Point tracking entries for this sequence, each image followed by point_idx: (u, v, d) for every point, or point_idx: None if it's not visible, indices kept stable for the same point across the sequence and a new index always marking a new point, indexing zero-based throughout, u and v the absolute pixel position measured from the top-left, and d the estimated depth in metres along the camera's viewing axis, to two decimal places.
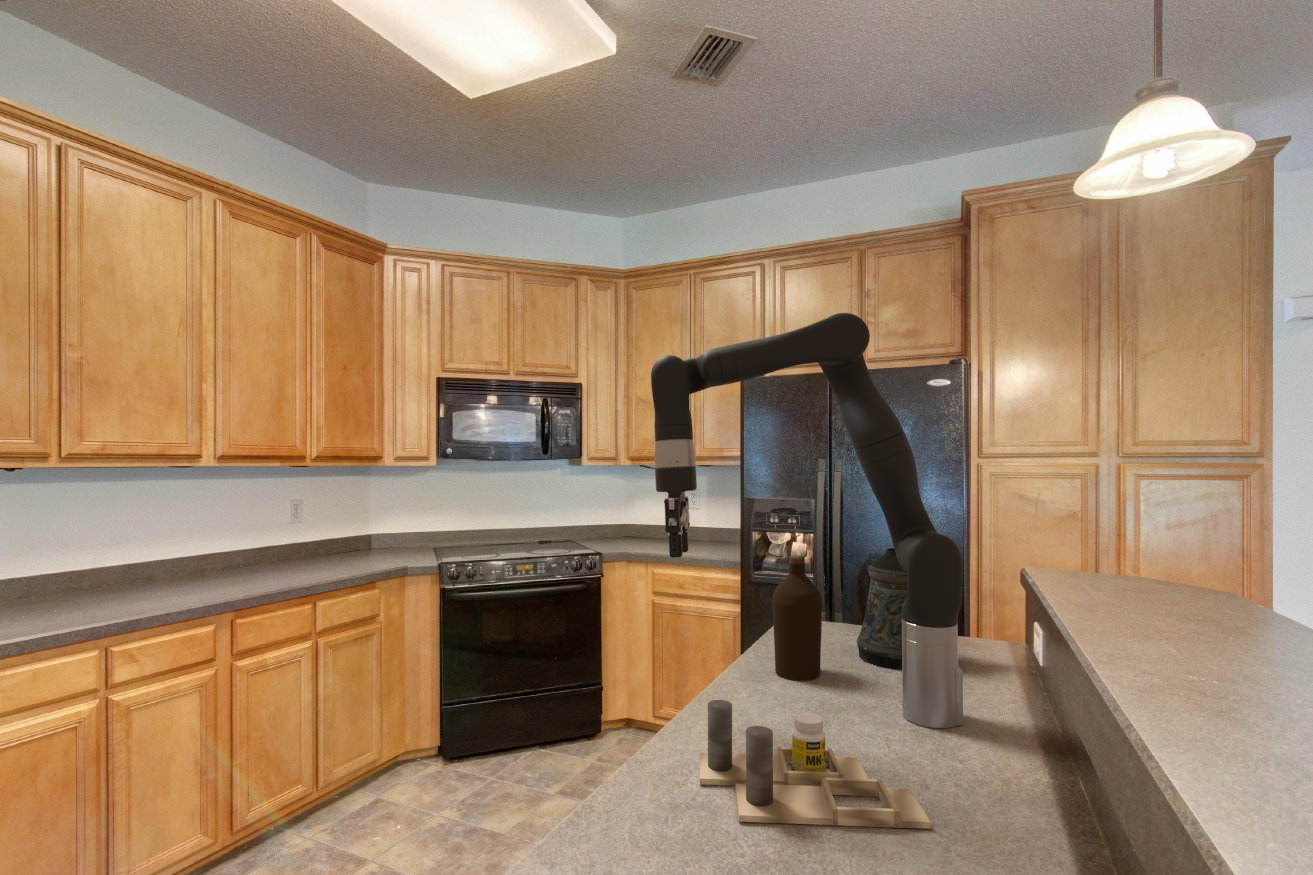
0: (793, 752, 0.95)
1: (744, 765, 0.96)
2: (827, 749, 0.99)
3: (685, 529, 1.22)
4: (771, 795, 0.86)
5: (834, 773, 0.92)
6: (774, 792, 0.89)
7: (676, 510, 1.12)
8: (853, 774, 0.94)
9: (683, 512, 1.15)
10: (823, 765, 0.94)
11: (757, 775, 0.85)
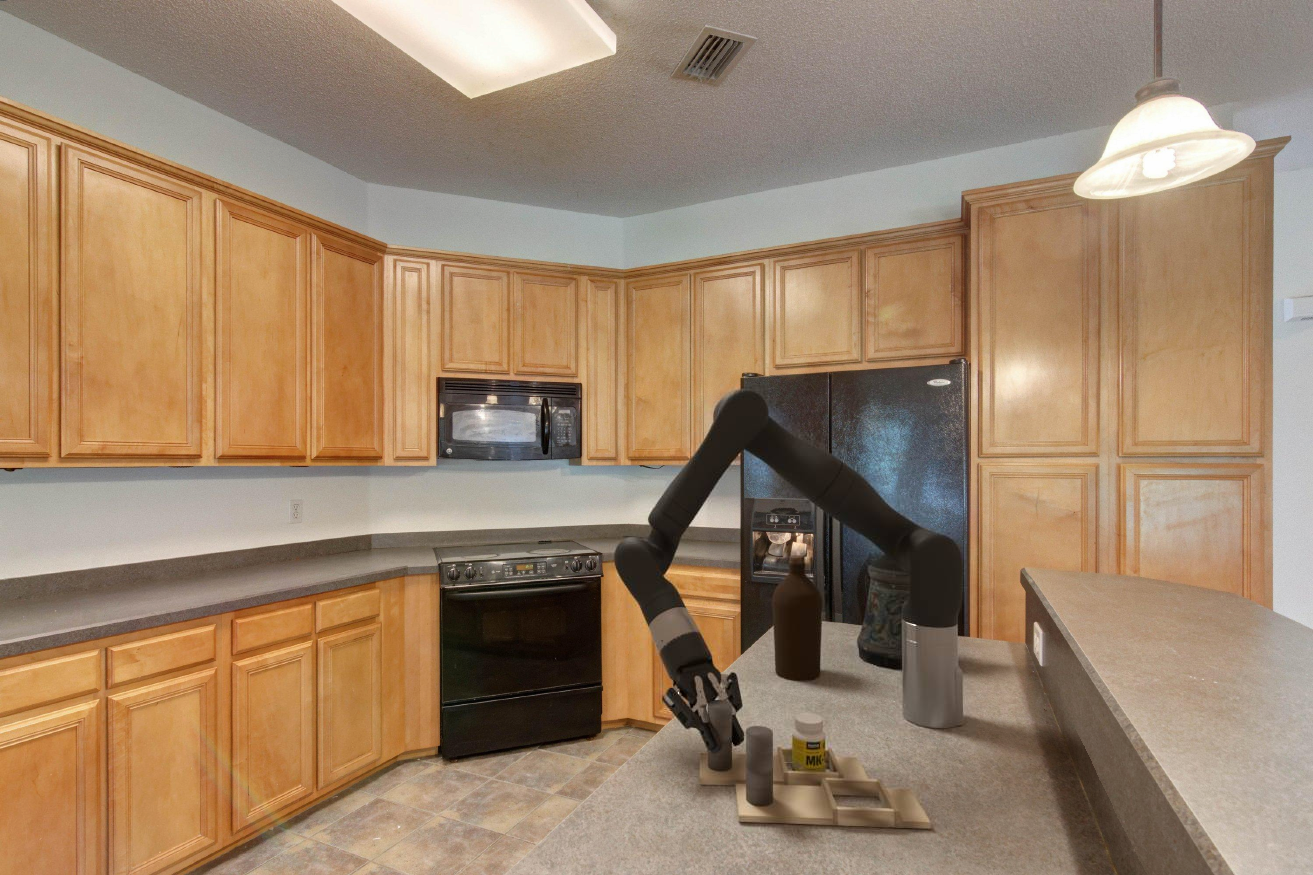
0: (793, 752, 0.95)
1: (744, 765, 0.96)
2: (827, 749, 0.99)
3: None
4: (771, 795, 0.86)
5: (834, 773, 0.92)
6: (774, 792, 0.89)
7: (675, 703, 0.96)
8: (853, 774, 0.94)
9: (696, 693, 0.97)
10: (823, 765, 0.94)
11: (757, 775, 0.85)
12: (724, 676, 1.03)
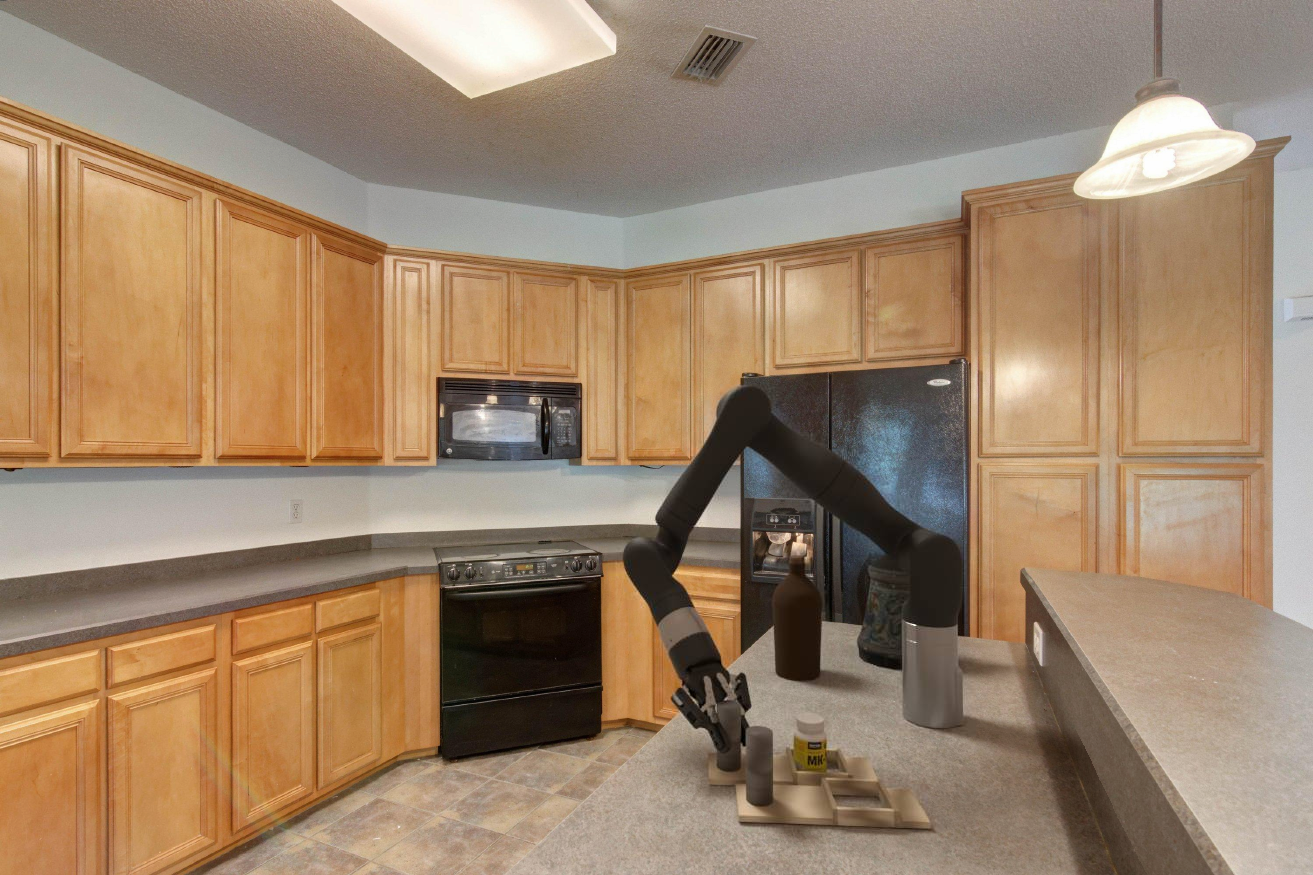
0: (794, 752, 0.95)
1: None
2: (836, 749, 0.99)
3: None
4: (771, 795, 0.86)
5: (843, 773, 0.91)
6: (774, 792, 0.89)
7: (684, 703, 0.95)
8: (862, 774, 0.93)
9: (705, 693, 0.97)
10: (824, 765, 0.94)
11: (757, 775, 0.85)
12: (733, 676, 1.03)
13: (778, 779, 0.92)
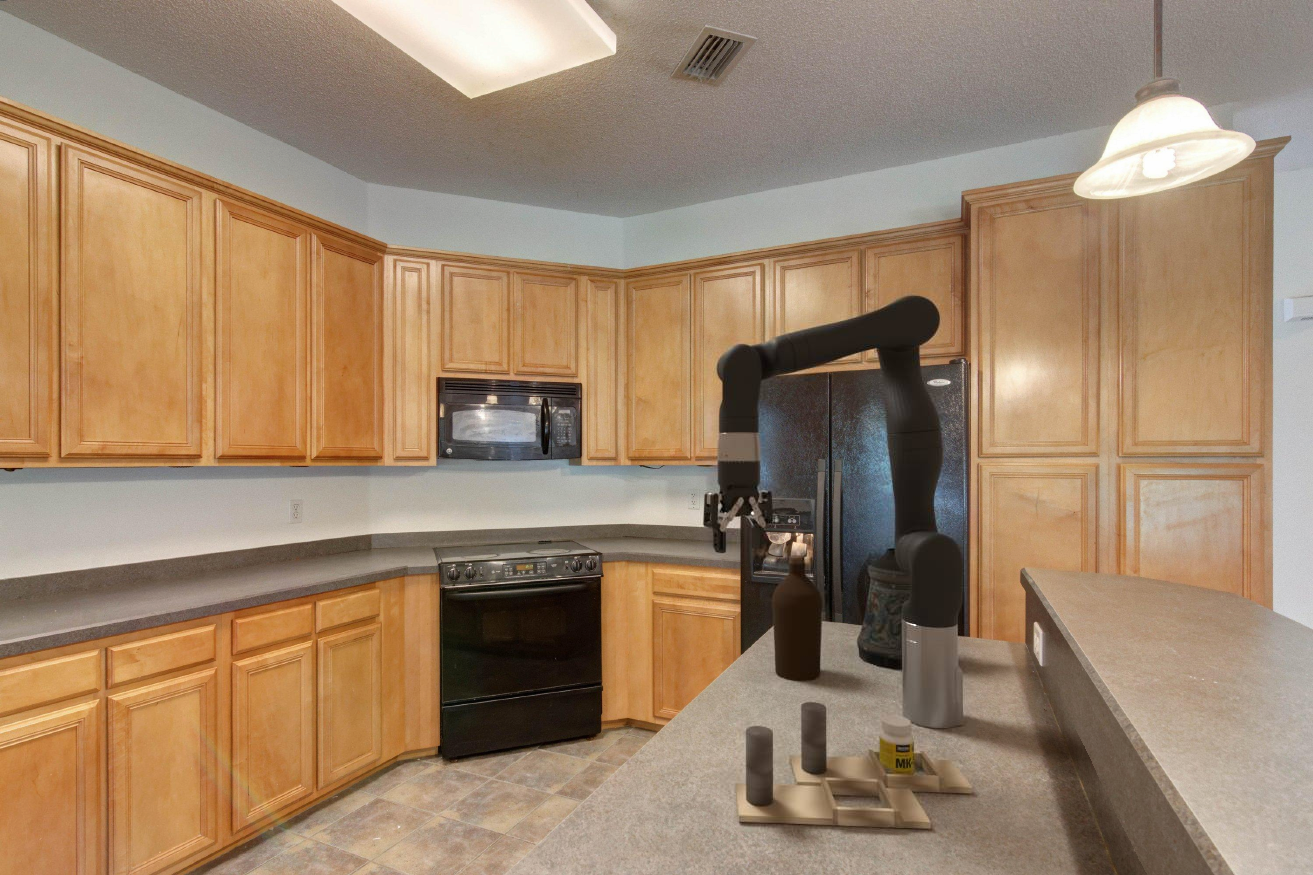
0: (881, 755, 0.94)
1: (838, 768, 0.95)
2: (919, 752, 0.98)
3: (759, 525, 1.16)
4: (771, 795, 0.86)
5: (934, 776, 0.91)
6: (774, 792, 0.89)
7: (711, 506, 1.10)
8: (951, 777, 0.93)
9: (731, 508, 1.12)
10: (912, 768, 0.93)
11: (757, 775, 0.85)
12: (761, 494, 1.17)
13: None
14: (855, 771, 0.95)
